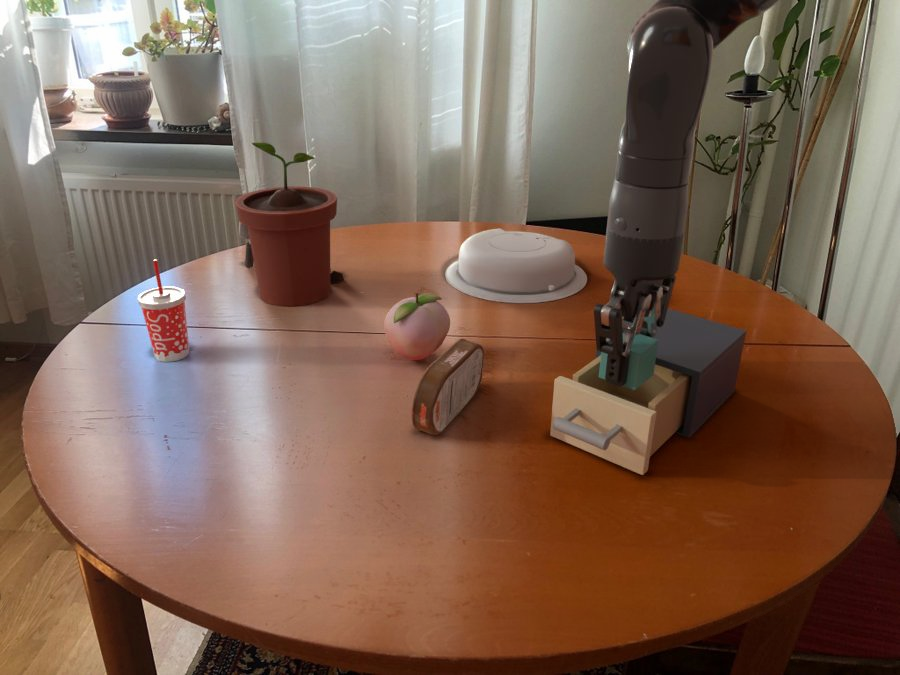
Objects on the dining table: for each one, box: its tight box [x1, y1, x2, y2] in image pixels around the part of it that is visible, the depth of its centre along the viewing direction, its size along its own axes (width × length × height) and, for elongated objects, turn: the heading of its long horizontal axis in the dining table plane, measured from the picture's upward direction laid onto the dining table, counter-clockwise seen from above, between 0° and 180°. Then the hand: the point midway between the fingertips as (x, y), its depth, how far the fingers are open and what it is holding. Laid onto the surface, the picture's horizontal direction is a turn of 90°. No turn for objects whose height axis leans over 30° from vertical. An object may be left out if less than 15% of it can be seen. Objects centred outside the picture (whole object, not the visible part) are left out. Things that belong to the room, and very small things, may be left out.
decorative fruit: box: [383, 292, 451, 361], centre depth 100 cm, size 9×8×10 cm
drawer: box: [549, 355, 692, 476], centre depth 82 cm, size 17×12×7 cm
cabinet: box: [595, 308, 747, 439], centre depth 91 cm, size 14×13×9 cm
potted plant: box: [234, 142, 345, 307], centre depth 121 cm, size 18×22×25 cm
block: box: [599, 333, 658, 390], centre depth 80 cm, size 4×4×4 cm
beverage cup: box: [136, 258, 190, 363], centre depth 101 cm, size 6×6×14 cm
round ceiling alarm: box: [444, 228, 588, 304], centre depth 130 cm, size 25×25×6 cm
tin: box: [411, 338, 486, 436], centre depth 88 cm, size 15×3×8 cm, turn 154°
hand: (626, 373), depth 81 cm, fingers closed on block, 4 cm apart
